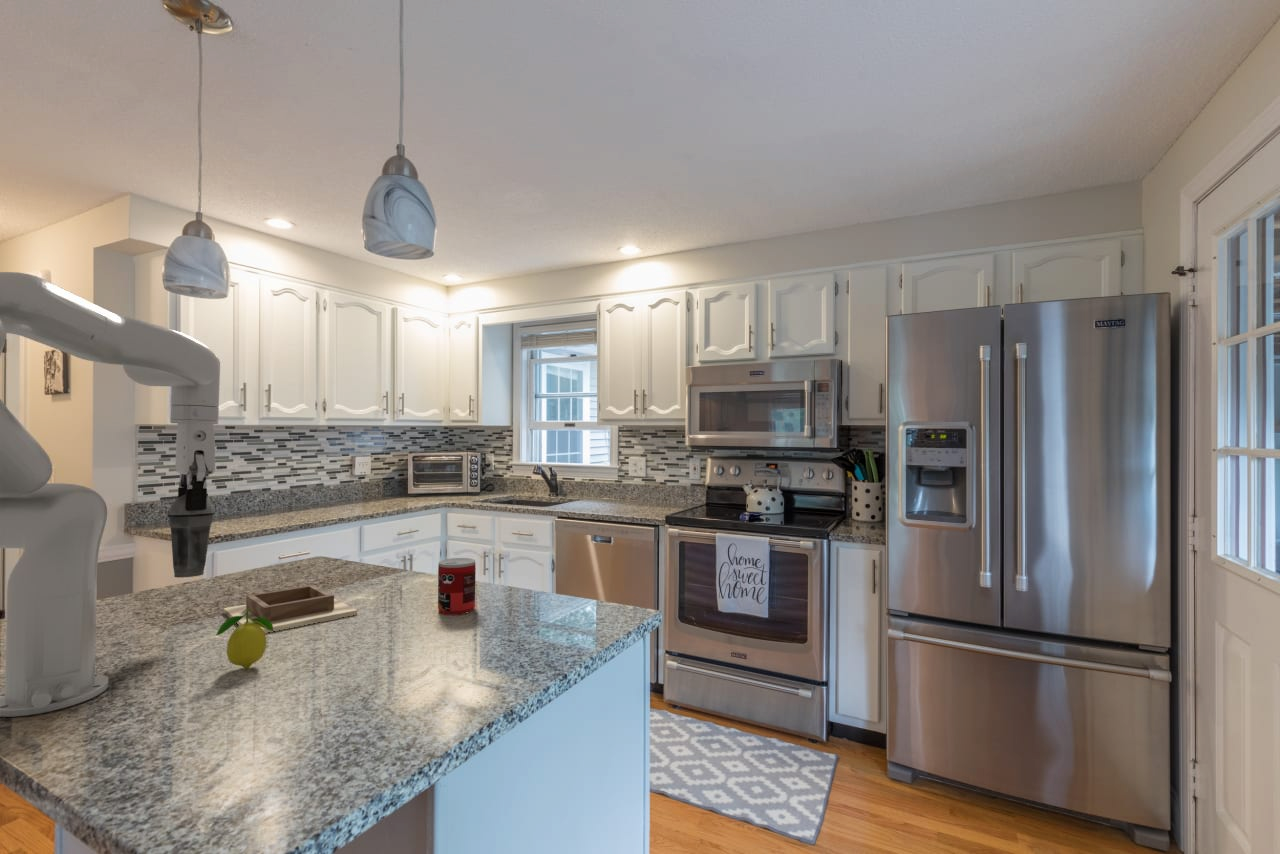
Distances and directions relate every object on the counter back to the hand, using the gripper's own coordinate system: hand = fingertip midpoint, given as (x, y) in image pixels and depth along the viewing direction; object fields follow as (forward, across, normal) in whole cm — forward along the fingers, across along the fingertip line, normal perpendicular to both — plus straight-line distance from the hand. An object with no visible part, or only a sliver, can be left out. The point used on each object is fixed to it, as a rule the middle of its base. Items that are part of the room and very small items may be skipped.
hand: (191, 507), depth 116 cm
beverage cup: (+13, 0, 0) cm, 13 cm away
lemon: (+25, -25, -4) cm, 36 cm away
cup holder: (+24, +4, -19) cm, 31 cm away
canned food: (+25, -19, -46) cm, 55 cm away
